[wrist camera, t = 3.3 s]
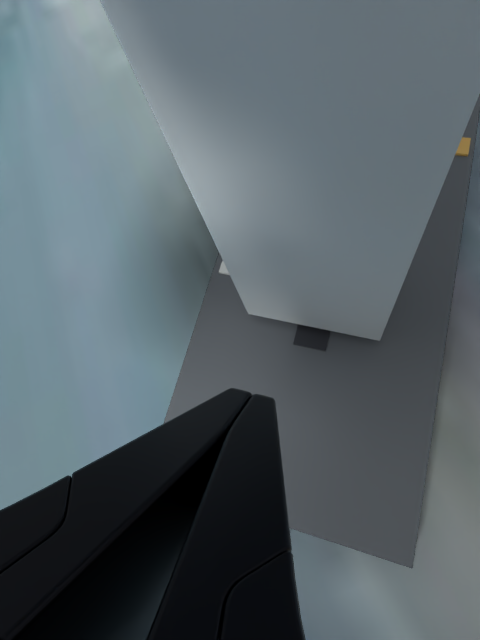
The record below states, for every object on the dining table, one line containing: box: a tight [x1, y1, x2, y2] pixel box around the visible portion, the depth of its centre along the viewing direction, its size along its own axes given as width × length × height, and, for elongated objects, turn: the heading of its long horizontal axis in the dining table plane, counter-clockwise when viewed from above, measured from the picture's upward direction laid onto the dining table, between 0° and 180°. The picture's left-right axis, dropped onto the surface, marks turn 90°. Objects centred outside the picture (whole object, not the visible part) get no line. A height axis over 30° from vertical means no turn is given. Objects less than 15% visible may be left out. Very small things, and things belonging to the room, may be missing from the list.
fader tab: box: [100, 0, 480, 341], centre depth 10 cm, size 4×5×14 cm
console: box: [164, 94, 480, 568], centre depth 18 cm, size 21×9×1 cm, turn 164°
